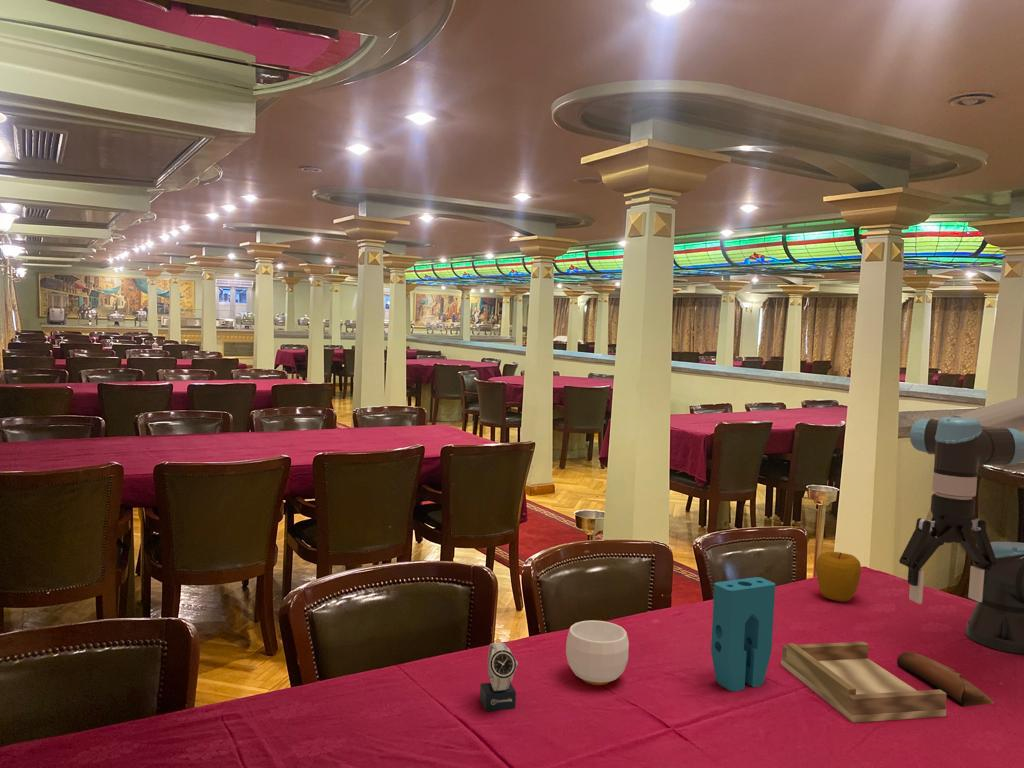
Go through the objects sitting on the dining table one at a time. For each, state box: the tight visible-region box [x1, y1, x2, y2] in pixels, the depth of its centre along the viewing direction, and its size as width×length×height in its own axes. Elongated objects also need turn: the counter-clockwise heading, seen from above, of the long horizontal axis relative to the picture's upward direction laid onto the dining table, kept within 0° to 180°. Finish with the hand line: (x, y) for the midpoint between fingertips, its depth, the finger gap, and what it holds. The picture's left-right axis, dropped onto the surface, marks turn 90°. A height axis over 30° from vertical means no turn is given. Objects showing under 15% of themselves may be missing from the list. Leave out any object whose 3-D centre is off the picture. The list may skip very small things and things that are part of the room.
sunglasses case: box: [896, 651, 995, 707], centre depth 151 cm, size 18×7×7 cm
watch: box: [479, 642, 519, 712], centre depth 136 cm, size 6×8×11 cm
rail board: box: [780, 641, 948, 723], centre depth 147 cm, size 19×24×5 cm
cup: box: [565, 619, 630, 686], centre depth 148 cm, size 12×12×10 cm
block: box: [710, 576, 776, 692], centre depth 148 cm, size 12×5×20 cm, turn 115°
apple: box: [815, 551, 862, 602], centre depth 199 cm, size 11×11×13 cm
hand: (945, 600), depth 150 cm, fingers open, 13 cm apart
